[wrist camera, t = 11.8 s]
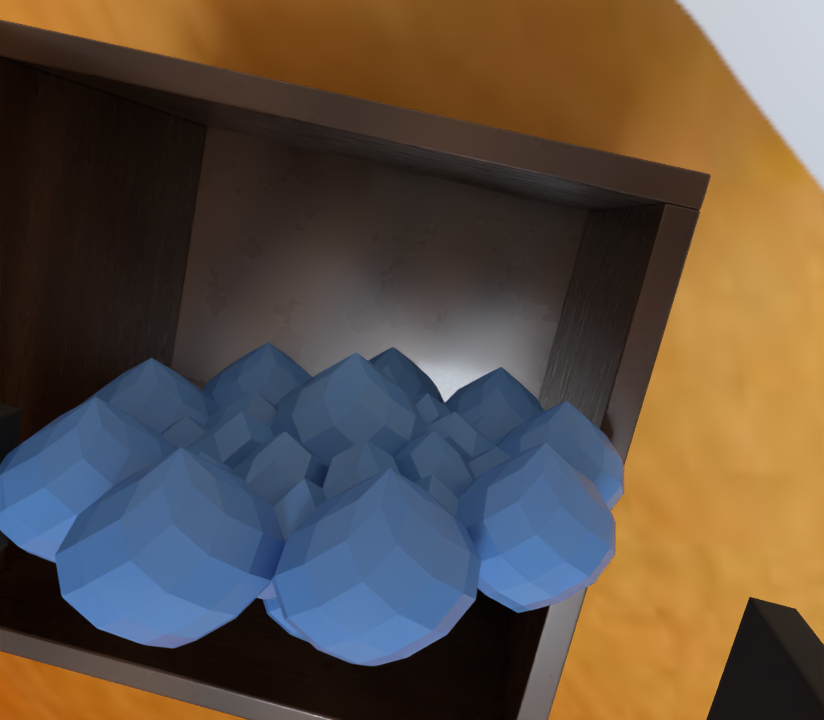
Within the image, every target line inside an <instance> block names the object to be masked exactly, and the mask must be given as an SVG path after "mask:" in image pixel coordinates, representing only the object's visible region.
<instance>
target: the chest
mask: <svg viewBox="0 0 824 720" xmlns="http://www.w3.org/2000/svg"><path fill="white" fill-rule="evenodd" d="M710 177H711V176H710V174H707V173H702V172H698V171H693V170H689V169H684V168H679V167H675V166H670V165H666V164H661V163H656V162H652V161H647V160H643V159H638V158H634V157H629V156H624V155H620V154H615V153H611V152H606V151H601V150H597V149H592V148H588V147H583V146H578V145H574V144H569V143H565V142H560V141H555V140H551V139H546V138H542V137H537V136H532V135H528V134H523V133H519V132H514V131H509V130H505V129H500V128H496V127H491V126H487V125H482V124H477V123H473V122H468V121H464V120H459V119H454V118H450V117H445V116H441V115H436V114H431V113H427V112H422V111H418V110H413V109H408V108H404V107H399V106H395V105H390V104H385V103H381V102H376V101H372V100H367V99H362V98H358V97H353V96H349V95H344V94H340V93H335V92H330V91H326V90H321V89H317V88H312V87H307V86H303V85H298V84H294V83H289V82H284V81H280V80H275V79H271V78H266V77H261V76H257V75H252V74H248V73H243V72H238V71H234V70H229V69H225V68H220V67H216V66H211V65H206V64H202V63H197V62H193V61H188V60H183V59H179V58H174V57H170V56H165V55H160V54H156V53H151V52H147V51H142V50H137V49H133V48H128V47H124V46H119V45H114V44H110V43H105V42H101V41H96V40H91V39H87V38H82V37H78V36H73V35H69V34H64V33H59V32H55V31H50V30H46V29H41V28H36V27H32V26H27V25H23V24H18V23H13V22H9V21H4V20H0V404H4V405H8V406H12V407H16V408H20V409H22V417H21V426H20V435H19V444H18V446H19V445H20V444H22V443H23V442H24V441H26V440H27V439H28V438H30V437H31V436H33V435H34V434H35V433H37V432H38V431H40V430H41V429H42V428H44V427H45V426H47V425H48V424H49V423H51V422H52V421H54V420H55V419H56V418H58V417H59V416H61V415H62V414H64V413H66V412H68V411H70V410H72V409H73V408H75V407H77V406H79V405H80V404H82V403H83V402H84V401H86V400H87V399H88V398H90V397H91V396H92V395H94V394H95V393H96V392H98V391H99V390H100V389H102V388H103V387H105V386H106V385H107V384H109V383H110V382H112V381H113V380H114V379H116V378H117V377H119V376H120V375H121V374H123V373H124V372H126V371H128V370H130V369H132V368H133V367H135V366H137V365H139V364H141V363H143V362H144V361H146V360H148V359H150V358H153V359H155V360H156V361H158V362H160V363H161V364H163V365H165V366H166V367H168V368H170V369H171V370H173V371H175V372H176V373H178V374H180V375H181V376H183V377H184V378H186V379H187V380H189V381H191V382H192V383H194V384H195V385H197V386H198V387H199V388H200V389H201V390H202V391H203V389H204V387H205V385H206V384H207V382H208V381H210V380H211V379H212V378H214V377H215V376H216V375H218V374H219V373H220V372H221V371H223V370H224V369H225V368H227V367H228V366H229V365H231V364H232V363H234V362H235V361H237V360H238V359H240V358H241V357H243V356H244V355H246V354H248V353H250V352H252V351H253V350H255V349H257V348H259V347H261V346H262V345H264V344H266V343H268V342H269V343H270V344H272V345H273V346H275V347H276V348H277V349H279V350H280V351H282V352H283V353H285V354H286V355H288V356H289V357H291V358H292V359H293V360H294V361H295V362H296V363H297V364H299V365H300V366H301V367H302V368H303V369H304V370H305V371H306V372H308V373H309V374H310V375H311V376H312V377H314V376H315V375H317V374H319V373H320V372H322V371H324V370H325V369H327V368H329V367H331V366H333V365H334V364H336V363H338V362H340V361H342V360H343V359H345V358H347V357H349V356H351V355H352V354H354V353H356V352H357V353H358V354H359V355H361V356H362V357H364V358H365V359H366V360H370V359H372V358H373V357H375V356H377V355H379V354H381V353H382V352H384V351H386V350H388V349H390V348H391V347H394V348H396V349H397V350H398V351H400V352H401V353H402V354H404V355H405V356H406V357H407V358H409V359H410V360H411V361H412V362H414V363H415V364H416V365H417V366H418V367H419V368H420V369H421V370H422V371H423V372H424V373H426V374H427V375H428V376H429V377H430V379H431V380H432V381H433V382H434V384H435V385H436V386H437V388H438V390H439V392H440V394H441V396H442V398H443V400H444V402H446V401H447V400H448V399H449V398H450V397H451V396H452V395H453V394H454V393H455V392H456V391H457V390H458V389H460V388H462V387H464V386H465V385H467V384H469V383H471V382H473V381H474V380H476V379H478V378H480V377H482V376H484V375H486V374H488V373H490V372H492V371H494V370H496V369H498V368H500V367H502V368H503V369H505V370H506V371H507V372H508V373H509V374H511V375H512V376H513V377H514V378H515V379H517V380H518V381H519V382H520V383H521V384H522V385H523V386H524V387H525V388H527V389H528V390H529V391H530V392H531V393H532V394H533V395H534V396H535V397H536V398H537V399H538V401H539V403H540V404H541V406H542V408H543V410H544V411H545V410H547V409H550V408H552V407H554V406H556V405H559V404H561V403H563V402H565V401H568V402H570V403H571V404H572V405H573V406H574V407H575V408H577V409H578V410H579V411H580V412H581V413H582V414H584V415H585V416H586V417H587V418H588V419H589V420H590V421H591V422H592V423H593V424H595V425H596V426H597V427H598V428H599V429H600V430H601V431H602V432H603V433H604V434H605V435H606V436H607V437H608V439H609V440H610V442H611V443H612V445H613V447H614V448H615V450H616V451H617V453H618V455H619V456H620V458H621V460H622V463H623V467H624V464H625V461H626V458H627V454H628V451H629V448H630V444H631V441H632V438H633V434H634V431H635V428H636V424H637V421H638V418H639V414H640V411H641V408H642V404H643V401H644V398H645V394H646V391H647V388H648V384H649V381H650V378H651V374H652V371H653V368H654V364H655V361H656V358H657V354H658V351H659V348H660V344H661V341H662V338H663V334H664V331H665V328H666V324H667V321H668V318H669V314H670V311H671V308H672V304H673V301H674V297H675V294H676V291H677V287H678V284H679V281H680V277H681V274H682V271H683V267H684V264H685V261H686V257H687V254H688V251H689V247H690V244H691V241H692V237H693V234H694V231H695V227H696V224H697V221H698V217H699V214H700V211H699V210H700V209H701V207H702V204H703V201H704V197H705V194H706V191H707V187H708V184H709V181H710ZM587 588H588V587H586V588H585V589H583V590H581V591H579V592H578V593H576V594H574V595H572V596H571V597H569V598H567V599H565V600H564V601H562V602H559V603H556V604H552V605H549V606H545V607H541V608H538V609H534V610H530V611H525V612H520V613H517V612H515V611H514V610H512V609H510V608H508V607H506V606H504V605H503V604H501V603H499V602H497V601H495V600H494V599H492V598H490V597H488V596H486V595H485V594H484V593H483V592H482V591H481V590H480V589H478V588H477V595H476V600H475V601H474V603H473V604H472V605H471V606H470V607H469V609H468V610H467V611H466V612H465V613H464V615H463V616H462V617H461V618H460V620H459V621H458V622H457V623H456V624H455V626H454V627H453V628H452V629H451V630H450V632H449V633H448V634H447V635H446V636H444V637H442V638H441V639H439V640H437V641H435V642H434V643H432V644H430V645H428V646H427V647H425V648H423V649H421V650H419V651H418V652H416V653H414V654H412V655H411V656H409V657H407V658H404V659H400V660H396V661H393V662H389V663H385V664H381V665H377V666H366V665H358V664H351V663H349V662H346V661H344V660H341V659H339V658H336V657H334V656H332V655H329V654H327V653H324V652H322V651H319V650H317V649H316V648H315V647H314V646H313V645H312V644H310V643H309V642H307V641H304V640H302V639H299V638H297V637H295V636H292V635H290V634H289V633H288V632H287V631H286V630H284V629H283V628H282V627H281V626H280V625H279V624H278V623H277V622H276V621H274V620H273V619H272V618H271V617H270V616H269V615H268V614H267V612H266V608H265V605H264V602H263V599H260V598H256V599H255V600H254V601H253V602H252V603H251V604H250V605H249V606H248V607H247V608H246V609H245V610H244V611H243V612H242V613H241V614H240V615H239V616H238V617H237V618H235V619H234V620H232V621H230V622H228V623H226V624H225V625H223V626H221V627H219V628H218V629H216V630H214V631H212V632H210V633H209V634H207V635H205V636H203V637H202V638H200V639H198V640H196V641H193V642H190V643H187V644H185V645H182V646H179V647H176V648H165V647H156V646H148V645H143V644H140V643H137V642H134V641H131V640H128V639H126V638H123V637H120V636H117V635H114V634H112V633H109V632H106V631H103V630H100V629H97V628H96V627H95V626H94V625H93V624H92V623H91V622H89V621H88V620H87V619H86V618H85V617H84V616H83V615H82V614H80V613H79V612H78V611H77V610H76V609H75V608H74V607H73V606H71V605H70V604H69V603H68V602H67V601H66V600H65V599H64V598H63V597H62V595H61V589H60V584H59V578H58V572H57V566H56V563H54V562H51V561H49V560H46V559H44V558H41V557H39V556H36V555H34V554H31V553H28V552H27V551H25V550H23V549H22V548H20V547H18V546H17V545H16V544H15V543H14V542H13V541H12V540H11V539H9V538H8V542H7V547H5V548H4V549H2V550H1V551H0V651H2V652H6V653H9V654H13V655H16V656H20V657H24V658H27V659H31V660H34V661H38V662H42V663H45V664H49V665H53V666H56V667H60V668H63V669H67V670H71V671H74V672H78V673H82V674H85V675H89V676H92V677H96V678H100V679H103V680H107V681H110V682H114V683H118V684H121V685H125V686H129V687H132V688H136V689H139V690H143V691H147V692H150V693H154V694H158V695H161V696H165V697H168V698H172V699H176V700H179V701H183V702H187V703H190V704H194V705H197V706H201V707H205V708H208V709H212V710H215V711H219V712H223V713H226V714H230V715H234V716H237V717H241V718H244V719H248V720H548V718H549V715H550V711H551V708H552V705H553V701H554V698H555V695H556V691H557V688H558V685H559V681H560V678H561V675H562V671H563V668H564V665H565V661H566V658H567V654H568V651H569V648H570V644H571V641H572V638H573V634H574V631H575V628H576V624H577V621H578V618H579V614H580V611H581V608H582V604H583V601H584V598H585V594H586V591H587Z"/></svg>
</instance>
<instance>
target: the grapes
mask: <svg viewBox="0 0 824 720" xmlns="http://www.w3.org/2000/svg"><path fill="white" fill-rule="evenodd" d="M623 494H624V467H623V463H622V460H621V458H620V456H619V455H618V453H617V451H616V450H615V448H614V447H613V445H612V443H611V442H610V440H609V439H608V437H607V436H606V435H605V434H604V433H603V432H602V431H601V430H600V429H599V428H598V427H597V426H596V425H595V424H593V423H592V422H591V421H590V420H589V419H588V418H587V417H586V416H585V415H584V414H582V413H581V412H580V411H579V410H578V409H577V408H575V407H574V406H573V405H572V404H571V403H570V402H568V401H565V402H563V403H561V404H559V405H556V406H554V407H552V408H550V409H547V410H545V411H544V410H543V408H542V406H541V404H540V403H539V401H538V399H537V398H536V397H535V396H534V395H533V394H532V393H531V392H530V391H529V390H528V389H527V388H525V387H524V386H523V385H522V384H521V383H520V382H519V381H518V380H517V379H515V378H514V377H513V376H512V375H511V374H509V373H508V372H507V371H506V370H505V369H503V368H502V367H500V368H498V369H496V370H494V371H492V372H490V373H488V374H486V375H484V376H482V377H480V378H478V379H476V380H474V381H473V382H471V383H469V384H467V385H465V386H464V387H462V388H460V389H458V390H457V391H456V392H455V393H454V394H453V395H452V396H451V397H450V398H449V399H448V400H447V401H446V402H444V400H443V398H442V396H441V394H440V392H439V390H438V388H437V386H436V385H435V384H434V382H433V381H432V380H431V379H430V377H429V376H428V375H427V374H426V373H424V372H423V371H422V370H421V369H420V368H419V367H418V366H417V365H416V364H415V363H414V362H412V361H411V360H410V359H409V358H407V357H406V356H405V355H404V354H402V353H401V352H400V351H398V350H397V349H396V348H394V347H391V348H390V349H388V350H386V351H384V352H382V353H381V354H379V355H377V356H375V357H373V358H372V359H370V360H366V359H365V358H364V357H362V356H361V355H359V354H358V353H357V352H356V353H354V354H352V355H351V356H349V357H347V358H345V359H343V360H342V361H340V362H338V363H336V364H334V365H333V366H331V367H329V368H327V369H325V370H324V371H322V372H320V373H319V374H317V375H315V376H314V377H312V376H311V375H310V374H309V373H308V372H306V371H305V370H304V369H303V368H302V367H301V366H300V365H299V364H297V363H296V362H295V361H294V360H293V359H292V358H291V357H289V356H288V355H286V354H285V353H283V352H282V351H280V350H279V349H277V348H276V347H275V346H273V345H272V344H270V343H269V342H268V343H266V344H264V345H262V346H261V347H259V348H257V349H255V350H253V351H252V352H250V353H248V354H246V355H244V356H243V357H241V358H240V359H238V360H237V361H235V362H234V363H232V364H231V365H229V366H228V367H227V368H225V369H224V370H223V371H221V372H220V373H219V374H218V375H216V376H215V377H214V378H212V379H211V380H210V381H208V382H207V384H206V385H205V387H204V389H203V391H202V390H201V389H200V388H199V387H198V386H197V385H195V384H194V383H192V382H191V381H189V380H187V379H186V378H184V377H183V376H181V375H180V374H178V373H176V372H175V371H173V370H171V369H170V368H168V367H166V366H165V365H163V364H161V363H160V362H158V361H156V360H155V359H153V358H150V359H148V360H146V361H144V362H143V363H141V364H139V365H137V366H135V367H133V368H132V369H130V370H128V371H126V372H124V373H123V374H121V375H120V376H119V377H117V378H116V379H114V380H113V381H112V382H110V383H109V384H107V385H106V386H105V387H103V388H102V389H100V390H99V391H98V392H96V393H95V394H94V395H92V396H91V397H90V398H88V399H87V400H86V401H84V402H83V403H82V404H80V405H79V406H77V407H75V408H73V409H72V410H70V411H68V412H66V413H64V414H62V415H61V416H59V417H58V418H56V419H55V420H54V421H52V422H51V423H49V424H48V425H47V426H45V427H44V428H42V429H41V430H40V431H38V432H37V433H35V434H34V435H33V436H31V437H30V438H28V439H27V440H26V441H24V442H23V443H22V444H20V445H19V446H18V447H16V448H15V449H14V450H12V451H11V452H10V453H8V454H7V455H6V457H5V458H4V459H3V461H2V462H1V464H0V530H1V531H2V532H3V533H4V534H5V535H6V536H7V537H8V538H9V539H11V540H12V541H13V542H14V543H15V544H16V545H17V546H18V547H20V548H22V549H23V550H25V551H27V552H28V553H31V554H34V555H36V556H39V557H41V558H44V559H46V560H49V561H51V562H54V563H56V566H57V572H58V578H59V584H60V589H61V595H62V597H63V598H64V599H65V600H66V601H67V602H68V603H69V604H70V605H71V606H73V607H74V608H75V609H76V610H77V611H78V612H79V613H80V614H82V615H83V616H84V617H85V618H86V619H87V620H88V621H89V622H91V623H92V624H93V625H94V626H95V627H96V628H97V629H100V630H103V631H106V632H109V633H112V634H114V635H117V636H120V637H123V638H126V639H128V640H131V641H134V642H137V643H140V644H143V645H148V646H156V647H165V648H176V647H179V646H182V645H185V644H187V643H190V642H193V641H196V640H198V639H200V638H202V637H203V636H205V635H207V634H209V633H210V632H212V631H214V630H216V629H218V628H219V627H221V626H223V625H225V624H226V623H228V622H230V621H232V620H234V619H235V618H237V617H238V616H239V615H240V614H241V613H242V612H243V611H244V610H245V609H246V608H247V607H248V606H249V605H250V604H251V603H252V602H253V601H254V600H255V599H256V598H260V599H263V602H264V605H265V608H266V612H267V614H268V615H269V616H270V617H271V618H272V619H273V620H274V621H276V622H277V623H278V624H279V625H280V626H281V627H282V628H283V629H284V630H286V631H287V632H288V633H289V634H290V635H292V636H295V637H297V638H299V639H302V640H304V641H307V642H309V643H310V644H312V645H313V646H314V647H315V648H316V649H317V650H319V651H322V652H324V653H327V654H329V655H332V656H334V657H336V658H339V659H341V660H344V661H346V662H349V663H351V664H358V665H366V666H377V665H381V664H385V663H389V662H393V661H396V660H400V659H404V658H407V657H409V656H411V655H412V654H414V653H416V652H418V651H419V650H421V649H423V648H425V647H427V646H428V645H430V644H432V643H434V642H435V641H437V640H439V639H441V638H442V637H444V636H446V635H447V634H448V633H449V632H450V630H451V629H452V628H453V627H454V626H455V624H456V623H457V622H458V621H459V620H460V618H461V617H462V616H463V615H464V613H465V612H466V611H467V610H468V609H469V607H470V606H471V605H472V604H473V603H474V601H475V600H476V595H477V588H478V589H480V590H481V591H482V592H483V593H484V594H485V595H486V596H488V597H490V598H492V599H494V600H495V601H497V602H499V603H501V604H503V605H504V606H506V607H508V608H510V609H512V610H514V611H515V612H517V613H520V612H525V611H530V610H534V609H538V608H541V607H545V606H549V605H552V604H556V603H559V602H562V601H564V600H565V599H567V598H569V597H571V596H572V595H574V594H576V593H578V592H579V591H581V590H583V589H585V588H586V587H588V586H590V585H592V584H593V583H595V581H596V580H597V578H598V577H599V576H600V574H601V573H602V572H603V570H604V569H605V568H606V566H607V565H608V563H609V562H610V561H611V559H612V558H613V557H614V555H615V520H614V518H613V515H612V513H611V512H610V511H611V509H612V508H613V507H614V505H615V504H616V503H617V501H618V500H619V499H620V497H621V496H622V495H623Z"/></svg>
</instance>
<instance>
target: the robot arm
mask: <svg viewBox="0 0 824 720" xmlns="http://www.w3.org/2000/svg"><path fill="white" fill-rule="evenodd" d="M21 417H22V409H20V408H16V407H12V406H8V405H4V404H0V464H1V462H2V461H3V459H4V458H5V457H6V455H7V454H8V453H10V452H11V451H12V450H14V449H15V448H16V447H18V444H19V435H20V426H21ZM7 542H8V537H7V536H6V535H5V534H4V533H3V532H2V531H1V530H0V551H1V550H2V549H4V548H5V547H7ZM707 720H824V645H823V643H822V642H821V641H820V639H819V638H818V637H817V636H816V634H815V633H814V632H813V630H812V629H811V628H810V627H809V625H808V624H807V623H806V621H805V620H804V619H803V618H802V616H801V615H800V614H799V612H798V611H797V610H796V609H794V608H790V607H786V606H783V605H779V604H775V603H771V602H767V601H763V600H759V599H755V598H752V597H749V600H748V603H747V606H746V609H745V612H744V614H743V617H742V620H741V623H740V626H739V629H738V632H737V634H736V637H735V640H734V643H733V646H732V649H731V652H730V654H729V657H728V660H727V663H726V666H725V669H724V671H723V674H722V677H721V680H720V683H719V686H718V689H717V691H716V694H715V697H714V700H713V703H712V706H711V709H710V711H709V714H708V717H707Z"/></svg>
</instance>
